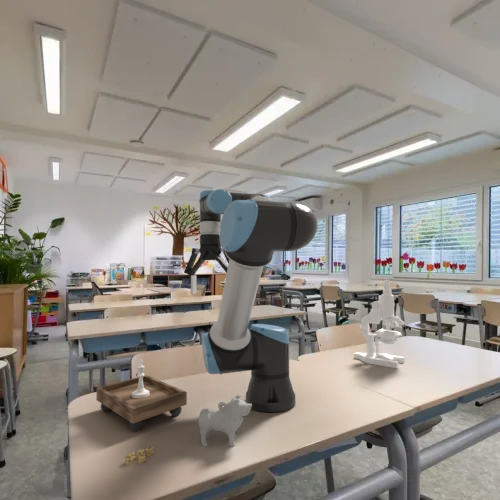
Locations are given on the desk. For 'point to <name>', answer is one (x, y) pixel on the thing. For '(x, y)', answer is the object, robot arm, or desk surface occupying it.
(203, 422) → the white dog statue
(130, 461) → the dice set
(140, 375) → the chess piece
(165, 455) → the desk surface
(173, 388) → the caster cart
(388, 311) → the microscope
